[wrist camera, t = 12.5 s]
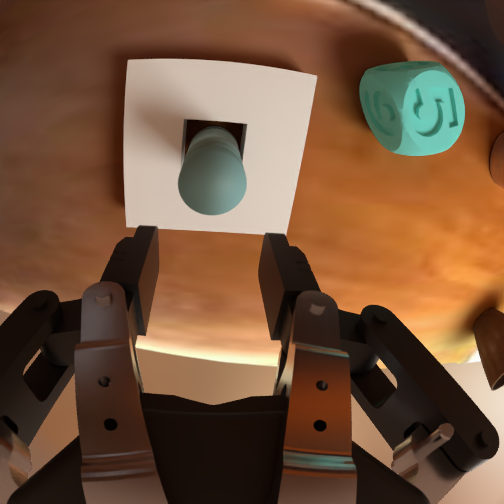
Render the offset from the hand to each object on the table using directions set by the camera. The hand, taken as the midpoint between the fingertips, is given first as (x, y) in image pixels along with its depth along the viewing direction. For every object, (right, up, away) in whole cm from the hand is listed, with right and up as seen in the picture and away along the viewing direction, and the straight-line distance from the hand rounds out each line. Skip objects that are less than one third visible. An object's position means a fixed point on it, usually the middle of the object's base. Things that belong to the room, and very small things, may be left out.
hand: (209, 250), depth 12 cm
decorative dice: (+17, +16, +15) cm, 28 cm away
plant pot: (+56, -16, +41) cm, 72 cm away
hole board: (-2, +11, +16) cm, 19 cm away
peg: (-2, +11, +16) cm, 19 cm away
